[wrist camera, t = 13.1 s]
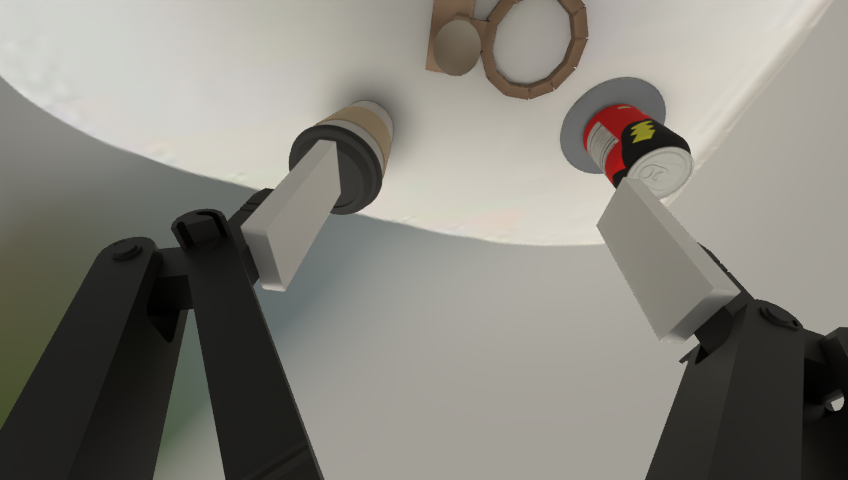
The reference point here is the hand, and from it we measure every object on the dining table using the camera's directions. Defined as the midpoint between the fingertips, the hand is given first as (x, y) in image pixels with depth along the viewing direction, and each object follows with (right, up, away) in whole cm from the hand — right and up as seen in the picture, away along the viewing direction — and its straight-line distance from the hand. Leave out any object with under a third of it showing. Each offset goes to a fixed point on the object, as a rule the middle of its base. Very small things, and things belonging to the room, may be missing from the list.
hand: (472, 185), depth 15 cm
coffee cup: (-10, +12, +26) cm, 30 cm away
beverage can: (+19, +10, +22) cm, 31 cm away
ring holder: (+6, +18, +18) cm, 27 cm away
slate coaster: (+20, +11, +22) cm, 32 cm away
